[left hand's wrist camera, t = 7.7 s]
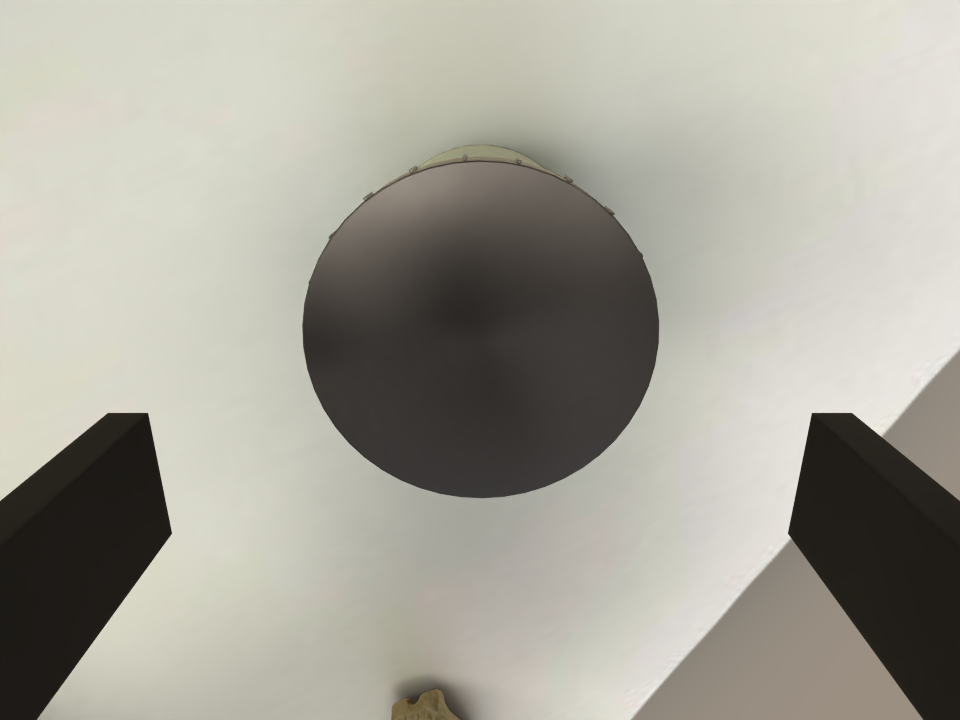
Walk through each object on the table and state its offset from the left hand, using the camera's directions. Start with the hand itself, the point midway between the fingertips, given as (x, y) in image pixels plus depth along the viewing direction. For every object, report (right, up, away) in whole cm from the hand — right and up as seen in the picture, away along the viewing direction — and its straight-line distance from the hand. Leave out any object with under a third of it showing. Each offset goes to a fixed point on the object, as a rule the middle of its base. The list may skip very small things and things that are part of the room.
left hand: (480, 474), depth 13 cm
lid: (0, +3, +7) cm, 8 cm away
